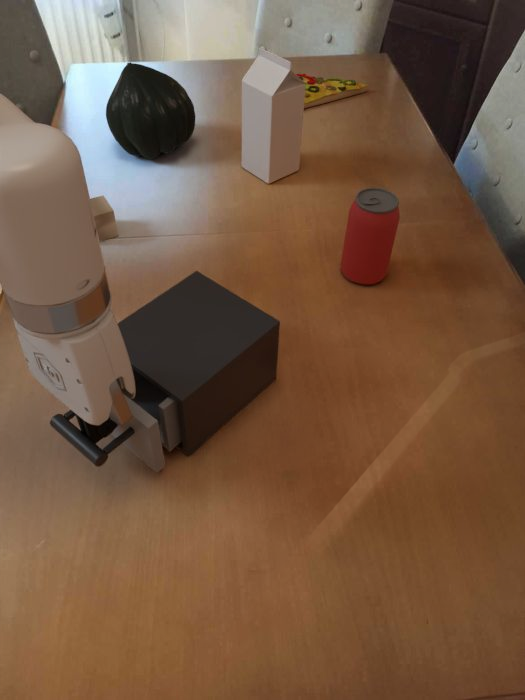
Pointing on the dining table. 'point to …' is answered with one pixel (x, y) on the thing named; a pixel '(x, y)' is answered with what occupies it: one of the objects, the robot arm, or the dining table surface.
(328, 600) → the dining table surface
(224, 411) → the cabinet
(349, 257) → the beer can
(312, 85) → the pizza slice
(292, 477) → the dining table surface
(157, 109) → the squash
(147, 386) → the drawer
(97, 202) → the block
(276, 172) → the milk carton
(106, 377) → the robot arm
